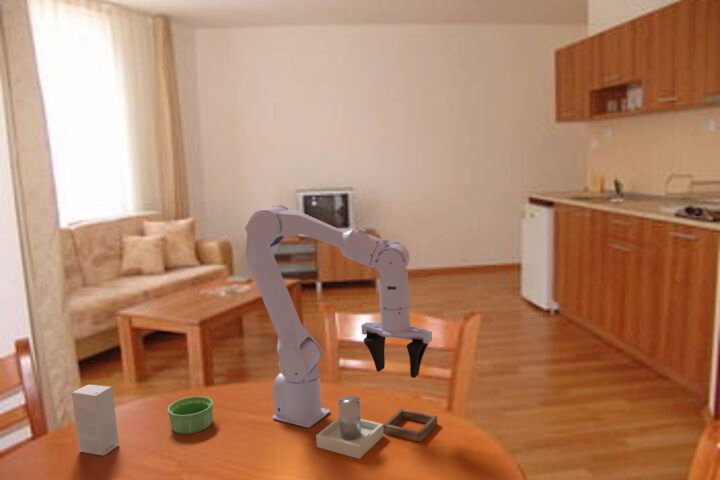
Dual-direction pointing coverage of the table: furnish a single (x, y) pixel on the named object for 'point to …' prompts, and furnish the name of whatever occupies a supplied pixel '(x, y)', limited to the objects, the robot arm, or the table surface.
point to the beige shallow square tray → (353, 448)
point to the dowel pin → (350, 417)
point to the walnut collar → (407, 433)
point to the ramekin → (190, 414)
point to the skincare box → (95, 419)
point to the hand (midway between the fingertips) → (397, 372)
